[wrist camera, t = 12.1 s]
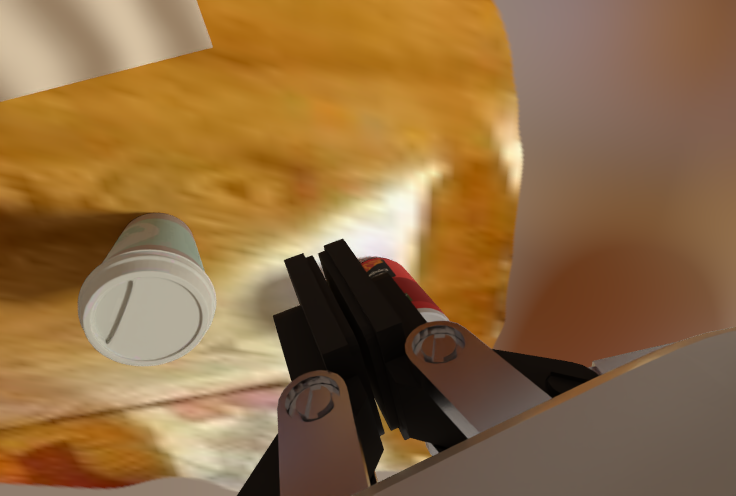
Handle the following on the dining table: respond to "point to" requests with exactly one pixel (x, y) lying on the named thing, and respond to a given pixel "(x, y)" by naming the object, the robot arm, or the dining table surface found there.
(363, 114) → the dining table surface
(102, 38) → the birch plate
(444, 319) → the canned food
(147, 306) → the coffee cup
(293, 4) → the dining table surface
